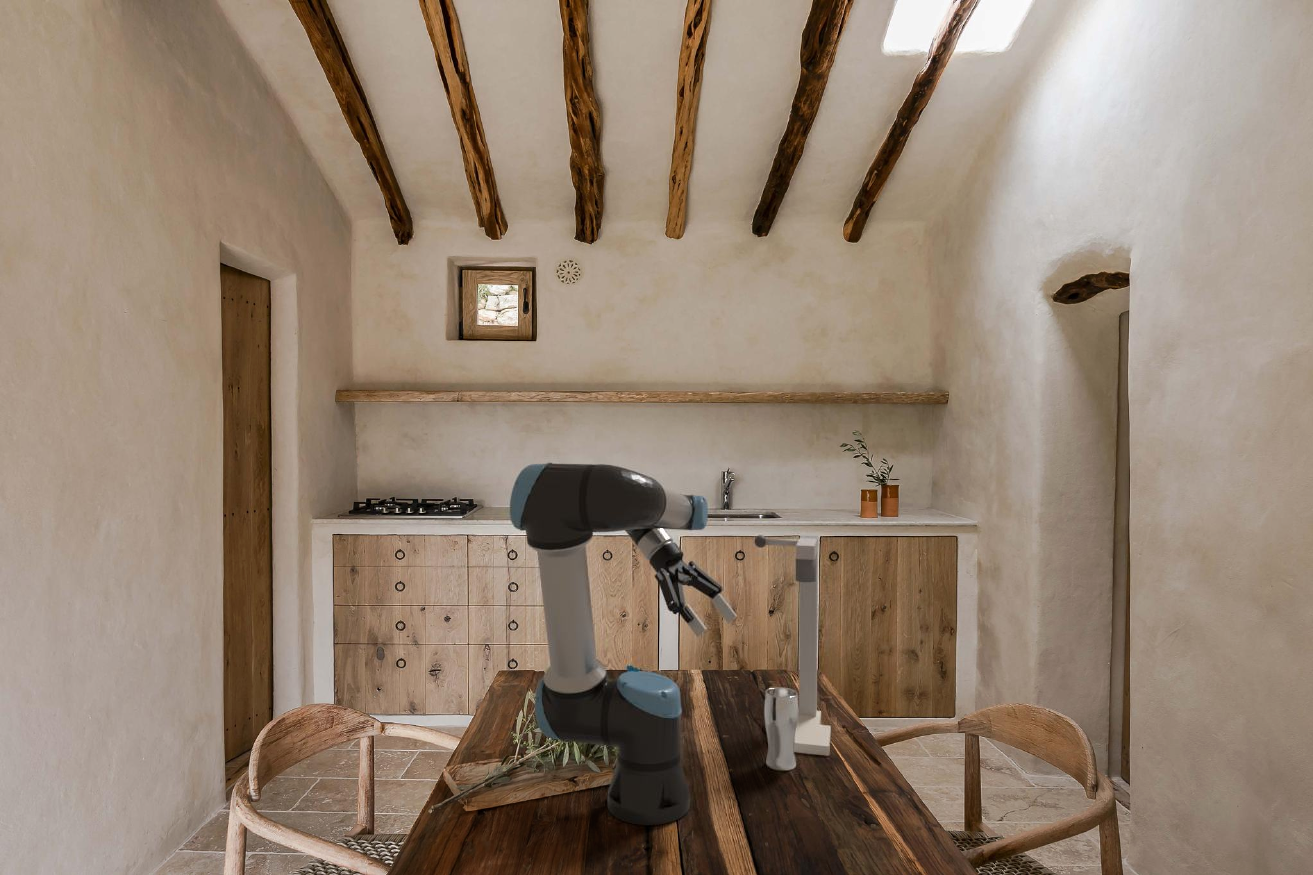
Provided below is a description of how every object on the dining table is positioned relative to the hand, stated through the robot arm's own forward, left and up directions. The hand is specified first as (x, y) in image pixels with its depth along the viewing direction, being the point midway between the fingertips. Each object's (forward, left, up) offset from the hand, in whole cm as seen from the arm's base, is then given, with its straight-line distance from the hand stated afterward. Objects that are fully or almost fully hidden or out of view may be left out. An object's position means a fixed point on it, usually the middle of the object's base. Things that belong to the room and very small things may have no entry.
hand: (718, 626), depth 167 cm
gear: (+30, +26, -27) cm, 48 cm away
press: (+12, -15, -26) cm, 32 cm away
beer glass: (-6, -14, -27) cm, 31 cm away
